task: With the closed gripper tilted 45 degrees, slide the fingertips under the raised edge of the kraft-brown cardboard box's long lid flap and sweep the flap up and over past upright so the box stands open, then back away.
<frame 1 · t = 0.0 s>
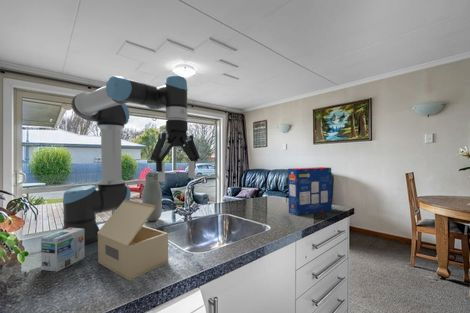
hand: (177, 179, 81), 28 cm above the countertop, tool pointing down, fingers open, 13 cm apart
carton: (133, 262, 78), on the countertop
carton flap: (126, 219, 76), point 15 cm above the countertop, hinge at 45.0°
light bulb box: (64, 264, 77), on the countertop
grey vase: (152, 221, 128), on the countertop
blue product box: (310, 212, 144), on the countertop
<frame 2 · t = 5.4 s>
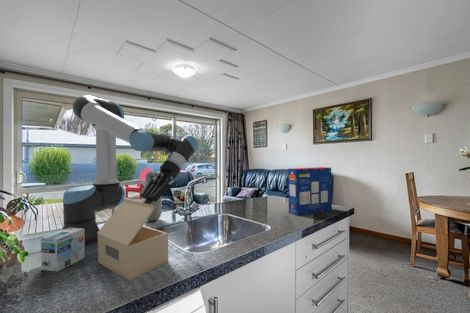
hand: (135, 215, 78), 16 cm above the countertop, tool tilted 45°, fingers closed
carton flap: (126, 219, 76), point 15 cm above the countertop, hinge at 45.2°, touching gripper
everything else where it was.
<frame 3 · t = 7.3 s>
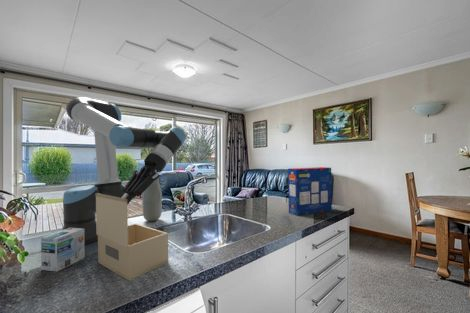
hand: (115, 212, 73), 19 cm above the countertop, tool tilted 45°, fingers closed
carton flap: (110, 218, 72), point 17 cm above the countertop, hinge at 90.0°, touching carton, gripper
everything else where it was.
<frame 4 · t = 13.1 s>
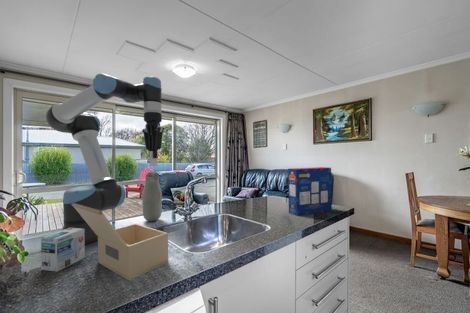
hand: (153, 165, 100), 32 cm above the countertop, tool pointing down, fingers closed
carton flap: (98, 224, 69), point 16 cm above the countertop, hinge at 121.0°
everything else where it was.
at the end: carton flap at +121° (first picture: +45°); light bulb box moved 0.3 cm from its start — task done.
